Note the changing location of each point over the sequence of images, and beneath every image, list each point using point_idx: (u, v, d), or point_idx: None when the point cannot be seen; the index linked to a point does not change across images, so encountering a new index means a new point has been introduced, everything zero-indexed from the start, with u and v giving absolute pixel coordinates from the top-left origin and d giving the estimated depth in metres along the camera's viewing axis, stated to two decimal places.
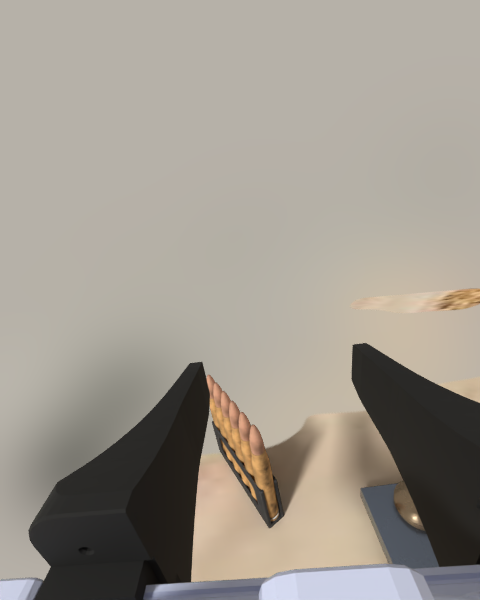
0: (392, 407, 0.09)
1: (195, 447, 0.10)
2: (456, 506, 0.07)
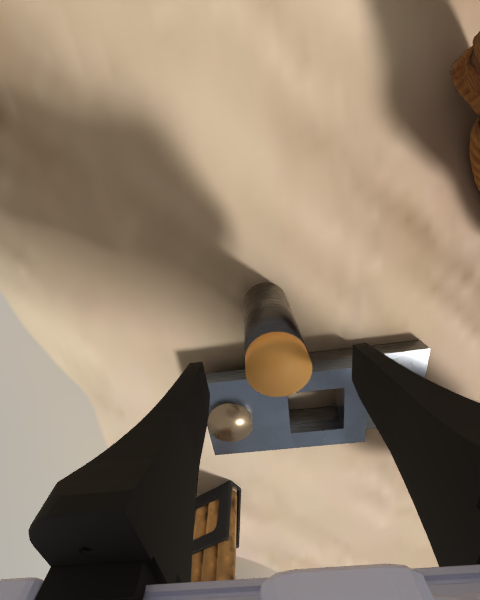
0: (392, 407, 0.09)
1: (195, 447, 0.10)
2: (456, 506, 0.07)
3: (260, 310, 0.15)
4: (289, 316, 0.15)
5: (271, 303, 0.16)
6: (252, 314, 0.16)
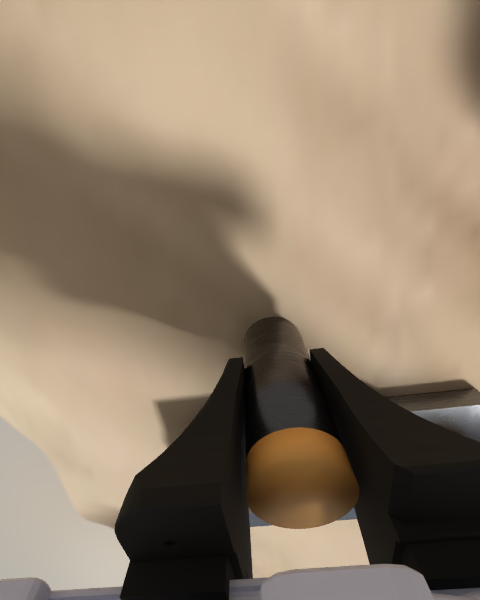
0: (337, 412, 0.09)
1: (244, 442, 0.10)
2: (377, 512, 0.07)
3: (268, 372, 0.10)
4: (312, 383, 0.10)
5: (283, 357, 0.11)
6: (256, 377, 0.10)
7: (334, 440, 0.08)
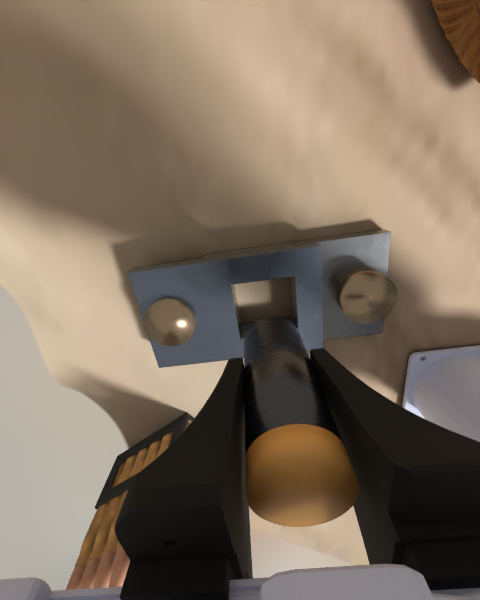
0: (336, 412, 0.09)
1: (244, 442, 0.10)
2: (377, 512, 0.07)
3: (266, 370, 0.10)
4: (311, 380, 0.10)
5: (282, 355, 0.11)
6: (255, 375, 0.10)
7: (333, 436, 0.08)
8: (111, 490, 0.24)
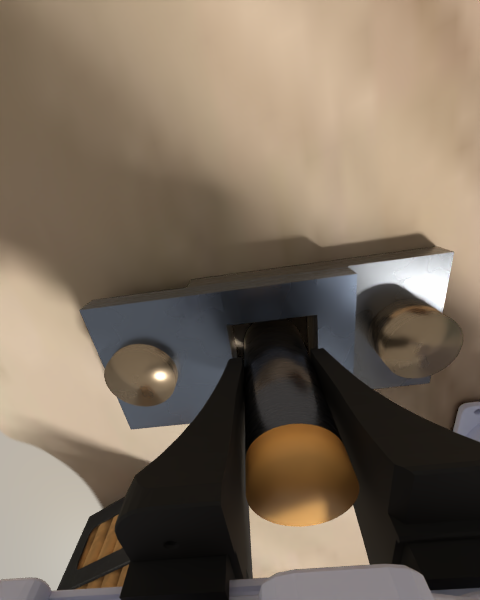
0: (336, 413, 0.09)
1: (244, 442, 0.10)
2: (377, 512, 0.07)
3: (266, 370, 0.10)
4: (311, 380, 0.10)
5: (282, 355, 0.11)
6: (255, 375, 0.10)
7: (333, 436, 0.08)
8: (75, 574, 0.19)
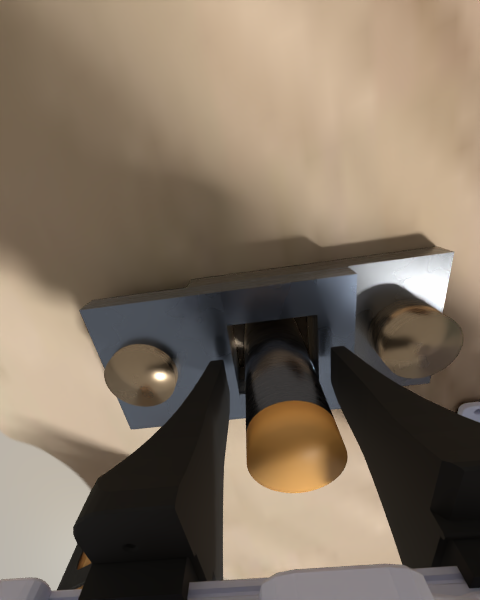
0: (363, 410, 0.09)
1: (220, 445, 0.10)
2: (415, 509, 0.07)
3: (265, 356, 0.11)
4: (306, 364, 0.11)
5: (280, 343, 0.12)
6: (255, 361, 0.11)
7: (324, 411, 0.09)
8: (75, 574, 0.19)
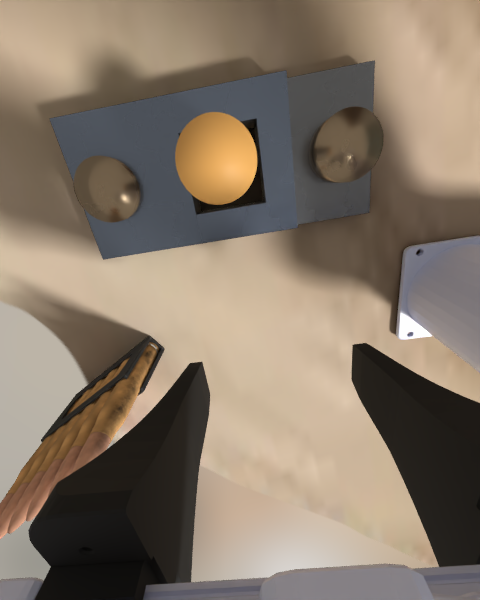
0: (392, 407, 0.09)
1: (195, 447, 0.10)
2: (456, 506, 0.07)
3: None
4: None
5: None
6: None
7: None
8: (60, 421, 0.21)
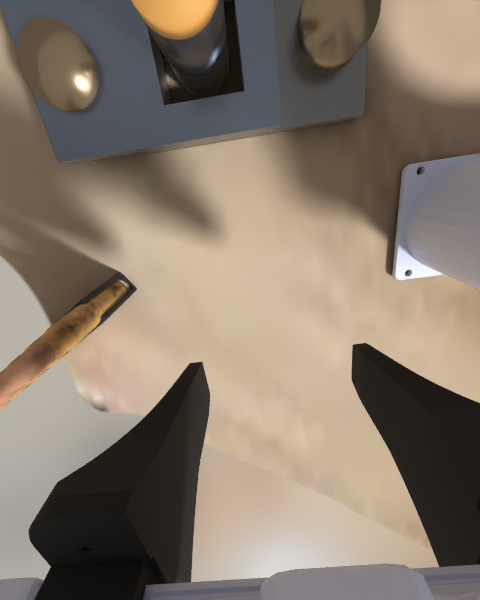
0: (392, 407, 0.09)
1: (195, 447, 0.10)
2: (456, 506, 0.07)
3: None
4: None
5: None
6: None
7: None
8: None
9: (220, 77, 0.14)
